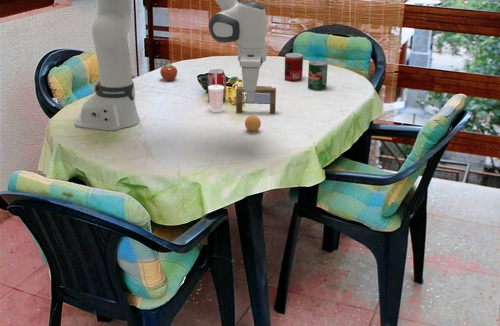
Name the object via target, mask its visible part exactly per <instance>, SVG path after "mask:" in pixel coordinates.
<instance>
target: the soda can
mask: <svg viewBox="0 0 500 326" xmlns="http://www.w3.org/2000/svg"><path fill="white" fill-rule="evenodd" d="M215 74H217V85H222V86H224V90H223V102H224V101H226V97H227V80H226V79H227V76H226V73H225V71H224V70H223V69H216V68H215V69H211V70H209V72H208V74H207V87H208V86H211V85H215ZM207 98H208V101H210V99H209V90H208V89H207Z"/></svg>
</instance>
